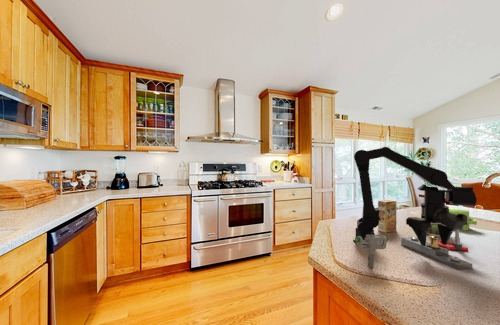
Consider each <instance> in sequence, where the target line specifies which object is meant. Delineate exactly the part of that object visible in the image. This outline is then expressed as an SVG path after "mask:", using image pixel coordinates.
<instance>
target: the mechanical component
mask: <svg viewBox="0 0 500 325" xmlns="http://www.w3.org/2000/svg"><path fill="white" fill-rule="evenodd" d="M354 240H355V241H356V242H355V244H356V246H358V247H359V248H360V249H362V250H365V251H366V253H367V255H368V256H367V257H368V258H367V266H368V267H369V268H370V269H374V267H375V266H374V265H375V259H374V258H375V255H377V253H376V250H385V249H386V248H387V243H388V241H389V238H388V236H384V235H382V234H375V235H366V238H365V240H363V239H362V237H361V236H357V237H356V236H355V238H354ZM362 244H366V245H362Z"/></svg>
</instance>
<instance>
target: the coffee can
mask: <svg viewBox="0 0 500 325" xmlns="http://www.w3.org/2000/svg"><path fill="white" fill-rule="evenodd" d="M421 205H424V202H422V203H420V207H421ZM445 207H448V208H450V207H449V206H448V205H445ZM421 215H424V208H422V207H421V209H420V216H421ZM420 218H421V217H420ZM421 219H423V218H421ZM429 229H430V231H429V232H427V235H428V236H430V235H431V236H437V237H439V238H440V234H439V230H438V226H437V225H430V227H429Z"/></svg>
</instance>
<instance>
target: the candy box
mask: <svg viewBox="0 0 500 325" xmlns="http://www.w3.org/2000/svg"><path fill="white" fill-rule="evenodd" d="M377 208H378V209H379V217H380V219H381V221H380V220H379V225H378V226H377V231H378V232H382V233H385V234H386V233H391V232H397V201H396V200H392V199H385V200H377Z"/></svg>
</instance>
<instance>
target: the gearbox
mask: <svg viewBox="0 0 500 325" xmlns="http://www.w3.org/2000/svg"><path fill="white" fill-rule="evenodd" d="M448 209H449V213H451V214H456V215H457V214H464V215H466V216H467V223H468V224H467V225H463V227H462V230H461V231H469V229H470V225H475V226H476V225H477V223H478V219H476V218H471V217H470V210H466V209H459V208H452V207H451V208H450V207H449V208H448Z"/></svg>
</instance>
